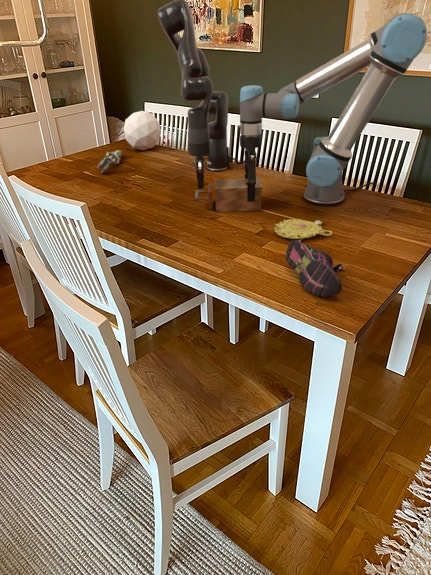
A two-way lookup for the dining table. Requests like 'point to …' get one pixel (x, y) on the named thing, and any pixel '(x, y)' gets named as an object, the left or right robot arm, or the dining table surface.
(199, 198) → the drawer
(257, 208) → the wooden drawer box
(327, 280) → the athletic shoe
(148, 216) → the dining table surface
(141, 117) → the sphere
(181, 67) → the left robot arm
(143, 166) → the dining table surface
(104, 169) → the figurine
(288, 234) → the decorative object
